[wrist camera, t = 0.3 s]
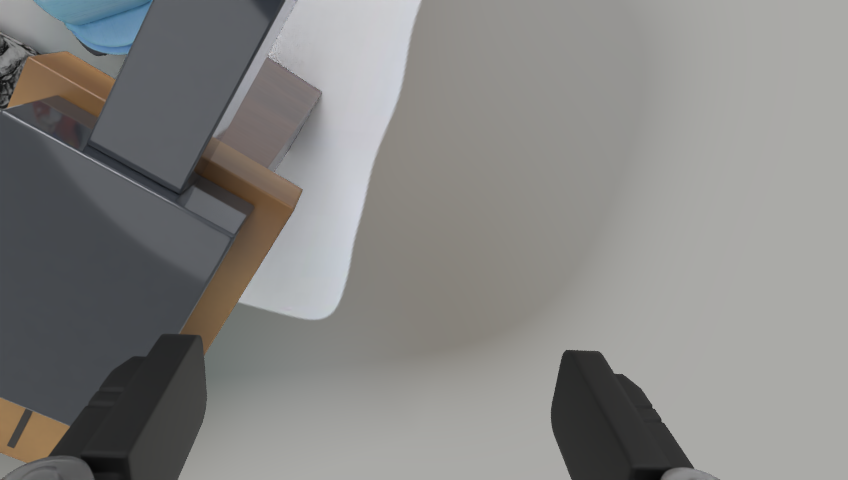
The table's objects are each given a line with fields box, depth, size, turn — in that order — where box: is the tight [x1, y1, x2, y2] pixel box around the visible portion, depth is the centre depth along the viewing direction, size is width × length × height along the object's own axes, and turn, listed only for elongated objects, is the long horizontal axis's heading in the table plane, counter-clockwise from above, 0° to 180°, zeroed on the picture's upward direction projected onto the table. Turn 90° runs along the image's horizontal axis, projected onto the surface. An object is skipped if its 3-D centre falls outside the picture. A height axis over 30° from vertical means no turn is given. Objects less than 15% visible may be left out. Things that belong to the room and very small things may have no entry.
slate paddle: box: [0, 0, 297, 426], centre depth 15 cm, size 17×6×2 cm, turn 146°
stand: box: [0, 51, 322, 463], centre depth 32 cm, size 14×8×31 cm, turn 146°
